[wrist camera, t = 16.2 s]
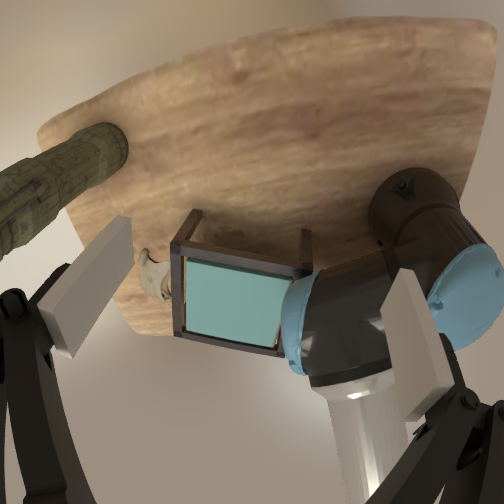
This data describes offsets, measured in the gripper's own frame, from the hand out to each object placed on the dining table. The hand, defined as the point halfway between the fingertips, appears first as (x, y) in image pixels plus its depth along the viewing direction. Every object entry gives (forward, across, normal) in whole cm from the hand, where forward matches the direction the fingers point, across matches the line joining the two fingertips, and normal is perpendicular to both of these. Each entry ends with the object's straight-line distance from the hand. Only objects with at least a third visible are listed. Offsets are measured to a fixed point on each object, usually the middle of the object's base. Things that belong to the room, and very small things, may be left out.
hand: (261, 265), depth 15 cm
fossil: (+32, +19, +30) cm, 48 cm away
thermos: (+32, +28, +6) cm, 43 cm away
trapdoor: (+22, +3, +24) cm, 33 cm away
